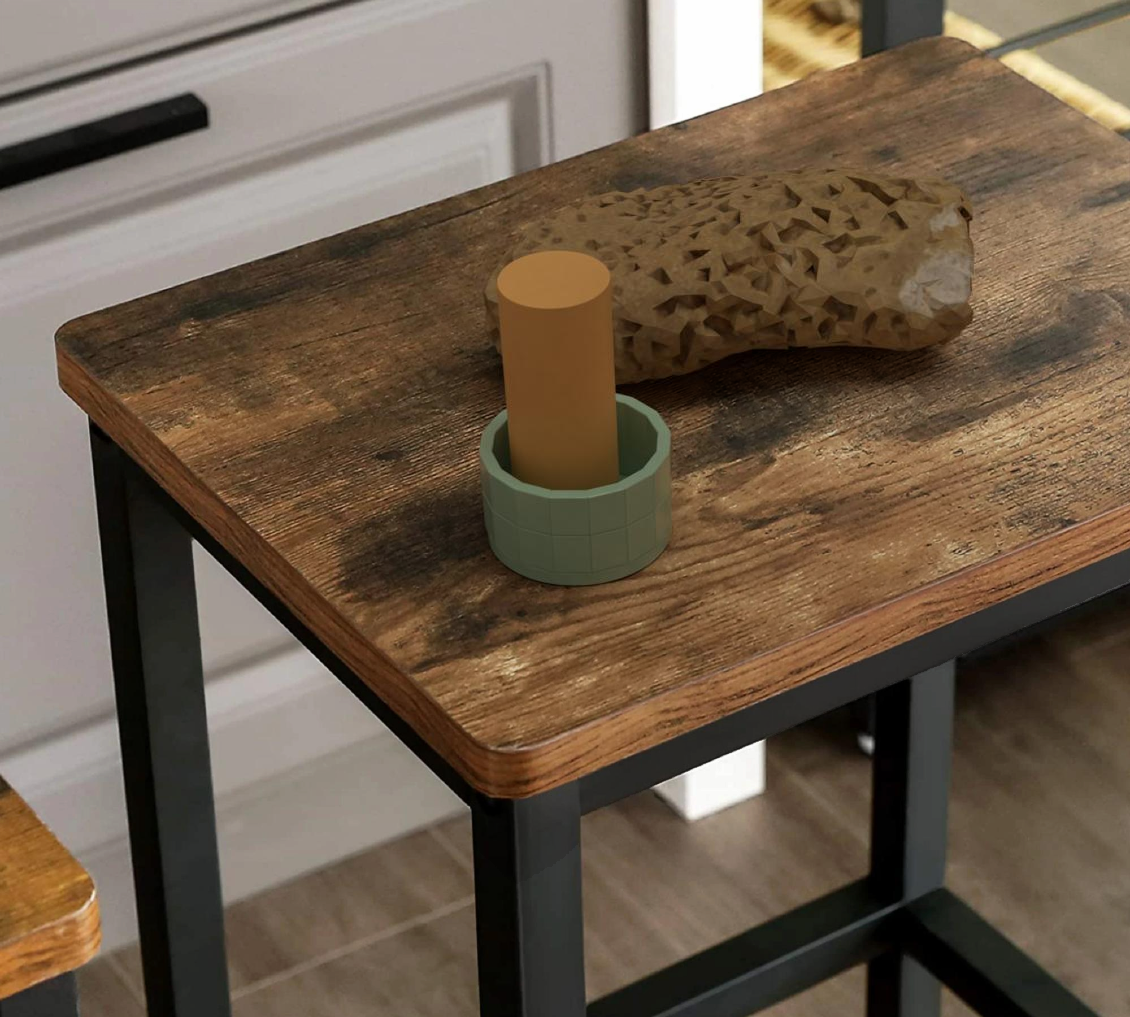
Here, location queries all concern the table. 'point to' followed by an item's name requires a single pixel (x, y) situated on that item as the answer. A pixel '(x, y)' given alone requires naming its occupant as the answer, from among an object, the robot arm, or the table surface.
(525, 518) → the green ceramic dish
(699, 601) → the table surface
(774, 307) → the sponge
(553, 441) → the tall orange cylinder
